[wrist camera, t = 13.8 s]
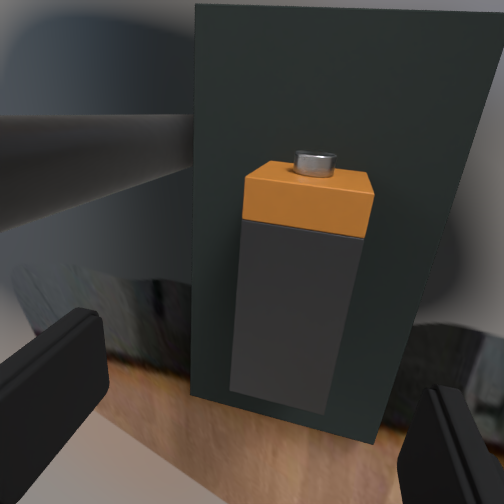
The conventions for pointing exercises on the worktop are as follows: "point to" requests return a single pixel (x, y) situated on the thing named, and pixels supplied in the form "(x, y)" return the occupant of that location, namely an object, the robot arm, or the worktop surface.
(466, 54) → the mat
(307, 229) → the battery
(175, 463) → the worktop surface
